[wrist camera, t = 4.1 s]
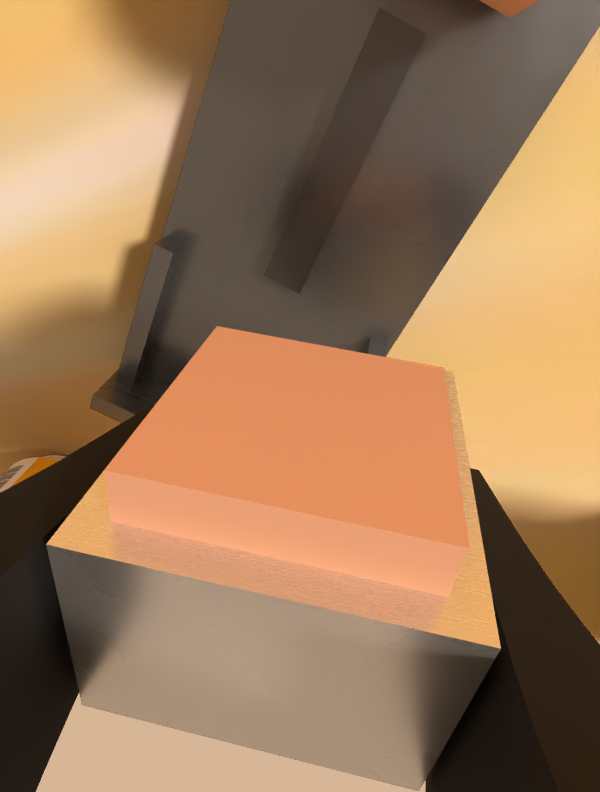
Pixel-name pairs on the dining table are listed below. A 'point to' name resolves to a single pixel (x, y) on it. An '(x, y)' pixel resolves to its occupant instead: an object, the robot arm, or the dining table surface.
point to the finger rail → (339, 170)
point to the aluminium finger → (287, 560)
